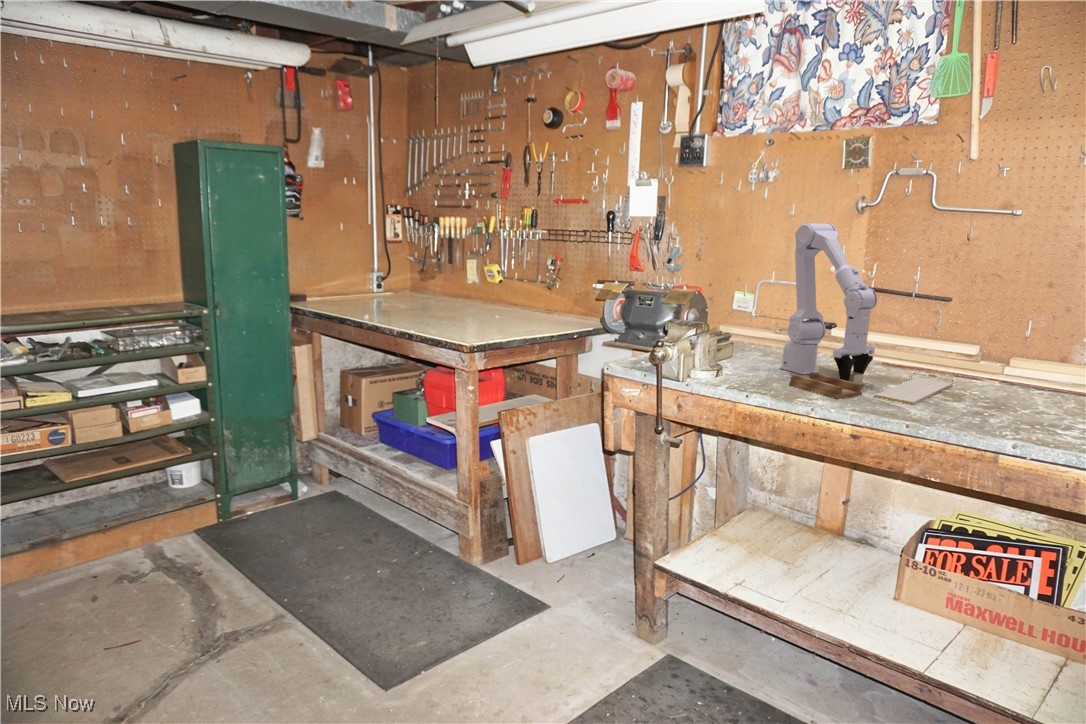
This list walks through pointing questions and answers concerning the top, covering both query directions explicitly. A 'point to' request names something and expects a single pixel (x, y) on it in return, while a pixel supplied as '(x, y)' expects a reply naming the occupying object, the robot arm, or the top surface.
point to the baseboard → (914, 390)
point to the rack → (826, 385)
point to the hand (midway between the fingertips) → (850, 380)
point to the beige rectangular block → (834, 373)
